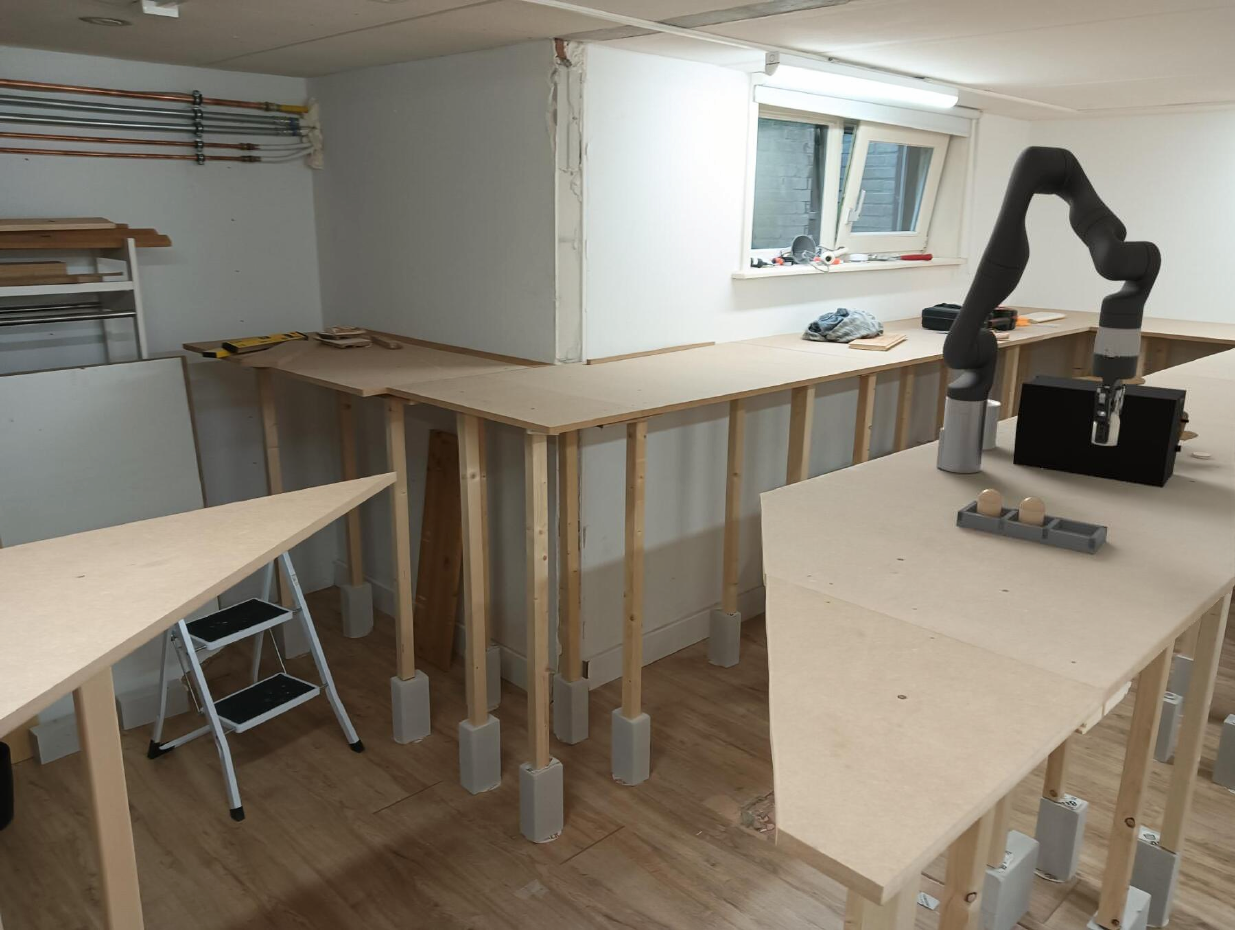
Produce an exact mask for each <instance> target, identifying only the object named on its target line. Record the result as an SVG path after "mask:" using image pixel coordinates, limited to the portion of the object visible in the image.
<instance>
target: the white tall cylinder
mask: <svg viewBox="0 0 1235 930" xmlns="http://www.w3.org/2000/svg"><path fill="white" fill-rule="evenodd" d="M1001 406H1002V403H1001V402H1000V401H996V400H993V399H988V404H987V414H986V423H985V432H984V441H983V451H989V450H994V449H996V448H997V444H996V441H997V433H998V432H997V430H998V426H999V425H998V424H999V416H1000V415H999V414H1000V408H1001Z"/></svg>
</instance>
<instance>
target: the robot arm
mask: <svg viewBox="0 0 1235 930" xmlns="http://www.w3.org/2000/svg"><path fill="white" fill-rule="evenodd" d="M1081 165H1082V164H1081V163H1080V162H1079V159H1078V158H1077V157H1076V156H1075V154H1074V153H1073V152H1072V151H1071V150H1069V149H1066V148H1063V147H1056V146H1055V147H1053V146H1041V145H1040V146H1039V145H1031V146H1027V147H1025V148H1024V149H1022V150H1021V152H1020V153H1019V154H1018V156H1017V157H1016V160H1015V162H1014V164H1013V167H1012V169H1011V171H1010V176H1009V179H1008V183H1007V185H1006V189H1005V192H1004V196H1003V200H1002V203H1001V206H1000V210H999V212H998V214H997V218H996V221H995V223H994V226H993V229H992V232H991V235H990V237H989V239H988V241H987V242H988V243H987V244H986V247H985V249H984V251H983V253H982V256H981V258H980V261H979V263H978V266H977V269H976V272H975V275H974V277H973V281H972V282H971V284H970V287H969V290H968V291H967V294H966V296H965V298H964V301H963V303H962V306H961V308H960V310H959V311H958V313H957V315H956V317H955V319H954V321H953V323H952V324H951V327H950V328H949V331H948V332H947V335H946V337H945V339H944V343H943V345H942V359H943V362H944V364H945V365H946V367H948V369H952V370H958V371H961V370H963V373H962V374H961V376H960V377H958V378H957V379H955V380H954V381H951V383H949V384H948V385H947V387H946V388H947V389H946V397H945V404H944V405H945V406H944V407H945V408H944V415H943V416H944V417H943V427H941V428H940V429H939V436H938V437H939V439H938V446H937V457H936V465H935V467H936V468H938V469H941V470H944V471H947V472H951V473H959V474H973V473H979V472H980V471H981V466H982V458H983V451H984V450H983V441H984V432H985V423H986V414H987V404H988V400H989V395H990V393H991V390H992V388H993V385H994V381H995V375H996V367H997V362H998V356H999V355H998V354H999V344H998V338H997V337H996V334H995V333H994V332H993V331H992V330H990V328H989V329H988V328H984V327H983V326H984V324H985V322H986V321H987V319H988V318H989V316H990V315H992V313H993V312H994V311H995V310H996V309H997V308H998V307H999V306H1000V305H1001V304H1002V303H1003V302H1004V301H1005V300H1007V298H1008V297H1009V296H1011V294H1012V293H1013V292H1014V291H1015V290H1016V288H1017V287H1018V285H1019V283H1020V281H1021V279H1022V276H1023V274H1024V272H1025V270H1026V267H1027V265H1028V263H1029V259H1030V252H1031V251H1030V243H1029V237H1028V234H1027V228H1026V217H1027V213H1028V210H1029V207H1030V205H1031V201H1032V199H1033V197H1034V195H1035V194H1036V195H1046V196H1047V195H1048V196H1049V195H1051V196H1052V195H1055V196H1057V197H1058V198H1060V199H1061V200H1062V201H1064V202H1066V203H1067V205H1068V206H1069V213H1068V219H1069V224H1070V227H1071V229H1072V230H1073V231H1074V234H1076V236H1077V237H1078V238H1079V239H1080V240H1081V241H1082V243H1083V244H1084V246H1086V247H1087V249H1088V250H1089V251H1088V252H1089V255H1090V258H1091V260H1092V263H1093V265H1094V268H1095V271H1096V272H1097V274H1098V275H1099V276H1100V277H1102V278H1103V279H1105V280H1107V281H1109V282H1110V281H1111V282H1124V283H1123V285H1122V287H1121V288H1120V290H1119V291H1117V292H1114V293H1110V294H1108V295H1106V296H1104V297H1103V299H1102V301H1101V306H1100V312H1099V313H1100V314H1099V318H1098V319H1099V320H1098V328H1097V332H1096V336H1095V341H1094V347H1093V355H1092V361H1091V364H1092V369H1091V374H1092V376H1096V377H1101V378H1102V380H1103V381H1102V384H1101V387H1100V386H1098V389H1097V392H1096V394H1095V406H1094V418H1093V420H1094V422H1096V423H1097V426H1096V433H1095V442H1096V443H1101V444H1106V443H1107V442H1108V439H1109V431H1110V424H1111V422H1112V415H1113V413H1115V414H1116V415H1117V416H1118V417H1119V414H1121V412H1122V410H1121V409H1122V404H1123V399H1124V394H1125V389H1126V387H1127V386H1126V384H1123V379H1132V378H1134V377H1135V376H1137V370H1138V364H1139V357H1140V349H1141V343H1142V342H1141V341H1142V324H1143V323H1142V322H1143V317H1144V310H1145V305H1146V303H1147V300H1148V299H1149V297H1150V294H1151V292H1152V289H1153V287H1154V285H1155V282H1156V280H1157V279H1158V276H1159V273H1160V270H1161V266H1162V254H1161V251H1160V249H1159V247H1158V246H1157V245H1156V244H1155V243H1154V242H1152V241H1147V240H1146V241H1145V240H1137V241H1135V240H1134V241H1131V240H1130V241H1129V240H1128V241H1127V240H1126V238H1127V234H1128V231H1127V228H1126V225H1125V224H1124V222H1123V221H1122V220H1121V219H1120V218H1119V217H1118V216H1117V215H1116V214H1115V213H1114V212H1113V211H1112V210H1111V208H1109V207H1108V205H1107V204H1106V203H1105V202H1104V201H1103V200H1102V199H1101V197H1100V195H1098V193H1097V191H1096V190H1095V188H1094V186H1093V184H1092V183H1091V181H1090V179H1089V178H1088V176H1087V174H1086V172H1085V170H1084V169H1083V167H1082V166H1081ZM982 327H983V328H982ZM1101 412H1105V413H1106V415H1105V416H1101Z"/></svg>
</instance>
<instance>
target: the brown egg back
mask: <svg viewBox="0 0 1235 930" xmlns="http://www.w3.org/2000/svg"><path fill="white" fill-rule="evenodd" d="M977 497H978V498H977V501H978V504H977V514H980V515H985V516H990V517H995V518H1000V515H1001V506H1003V505H1002V504H1003V498H1002V497H1003V496H1002V495H1001V493H1000V492H999V491H998V490H996V489H995V488H986V489H984V490H982V491H981V492H980V493H979V495H978V496H977Z"/></svg>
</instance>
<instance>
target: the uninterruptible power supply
mask: <svg viewBox="0 0 1235 930" xmlns="http://www.w3.org/2000/svg"><path fill="white" fill-rule="evenodd" d="M1074 378H1075V377H1062V376H1055V375H1053V376H1052V375H1043V374H1037V375H1036V377H1035V378H1033V379H1031V380H1030V381H1025V382H1024V381H1023V382H1022V385H1021V389H1020V390H1021V391H1020V398H1019V403H1018V404H1019V405H1018V412H1017V419H1016V424H1015V436H1014V448H1013V449H1014V451H1013V459H1012V460H1013V461H1012V464H1013V465H1018V466H1023V467H1030V468H1036V469H1041V468H1043V469H1042V470H1048V471H1054V472H1061V473H1067V474H1068V473H1069V474H1074V475H1079V476H1086V477H1092V478H1099V479H1106V480H1111V481H1112V480H1113V481H1117V482H1123V481H1124V482H1125V483H1130V484H1135V485H1143V486H1149V487H1153V488H1154V487H1155V488H1156V487H1157V488H1161V489H1162V488H1164V487H1165V485H1166V484H1167V482H1168V481H1169V479H1170V478H1171V477H1172V476H1173V474H1174V470H1175V463H1176V457H1177V453H1181V452H1182V451H1181V450H1182V445H1180V444H1179V443H1180V441H1179V436H1180V431H1181V424H1182V423H1186V424H1189V423H1190V419H1188V420H1187V419H1182V417H1183V411H1185V409H1184V408H1185V403H1186V398H1187V397H1186V395H1187V390H1186V389H1179V388H1168V387H1159V386H1151V385H1132V384H1126V386H1127V387H1126V389H1125V394H1124V399H1123V404H1122V409H1121V410H1122V412H1121V414H1119V419H1120V426H1119V433H1118V440H1117V445H1114V446H1104V445H1097V444H1094V443H1092V442H1091V440H1092V432H1093V425H1094V420H1093V418H1094V406H1095V394H1096V392H1097V389H1098V386H1100V387H1101V384H1102V381H1093V380H1083V379H1074ZM1178 442H1179V443H1178Z"/></svg>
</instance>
